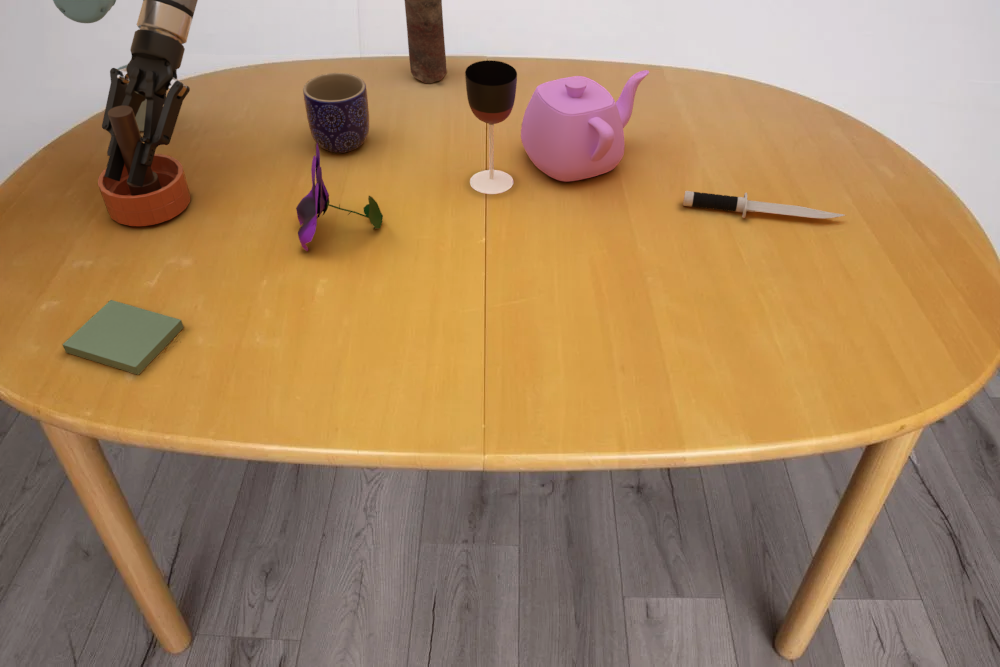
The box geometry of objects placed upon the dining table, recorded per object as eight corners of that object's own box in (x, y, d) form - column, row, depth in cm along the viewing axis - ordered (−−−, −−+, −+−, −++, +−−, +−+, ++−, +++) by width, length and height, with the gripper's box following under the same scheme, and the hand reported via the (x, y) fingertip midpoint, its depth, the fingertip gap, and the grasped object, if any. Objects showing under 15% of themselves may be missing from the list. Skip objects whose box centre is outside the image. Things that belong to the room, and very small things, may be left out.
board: (65, 352, 119) (61, 344, 118) (113, 307, 126) (110, 299, 125) (138, 375, 116) (135, 367, 115) (184, 327, 123) (181, 319, 122)
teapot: (561, 208, 144) (567, 126, 134) (507, 147, 158) (508, 69, 148) (678, 176, 151) (691, 97, 141) (616, 120, 165) (624, 44, 155)
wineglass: (501, 163, 154) (502, 56, 140) (523, 189, 148) (526, 79, 135) (460, 174, 152) (456, 66, 138) (481, 200, 146) (479, 90, 132)
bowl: (92, 219, 142) (80, 187, 138) (143, 177, 151) (133, 147, 146) (159, 236, 138) (148, 204, 134) (207, 193, 147) (198, 162, 143)
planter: (304, 157, 156) (294, 99, 148) (320, 126, 164) (312, 70, 156) (364, 161, 155) (357, 103, 147) (378, 129, 163) (372, 73, 155)
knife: (684, 200, 142) (686, 183, 145) (682, 213, 143) (683, 196, 147) (849, 219, 138) (847, 201, 141) (845, 232, 140) (843, 214, 143)
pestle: (127, 204, 143) (96, 115, 132) (146, 188, 146) (117, 101, 135) (151, 210, 141) (122, 121, 130) (170, 194, 145) (143, 106, 134)
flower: (362, 228, 148) (284, 205, 142) (397, 156, 141) (316, 128, 134) (370, 282, 138) (287, 260, 132) (409, 207, 130) (322, 180, 124)
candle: (402, 76, 178) (394, -23, 165) (427, 63, 182) (421, -34, 169) (429, 87, 175) (423, -13, 161) (454, 74, 179) (450, -24, 165)
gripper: (219, 54, 138) (182, 197, 138) (132, 38, 143) (96, 177, 143) (191, 36, 131) (152, 186, 131) (101, 19, 136) (63, 165, 136)
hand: (123, 181), depth 137 cm, fingers closed on pestle, 4 cm apart
